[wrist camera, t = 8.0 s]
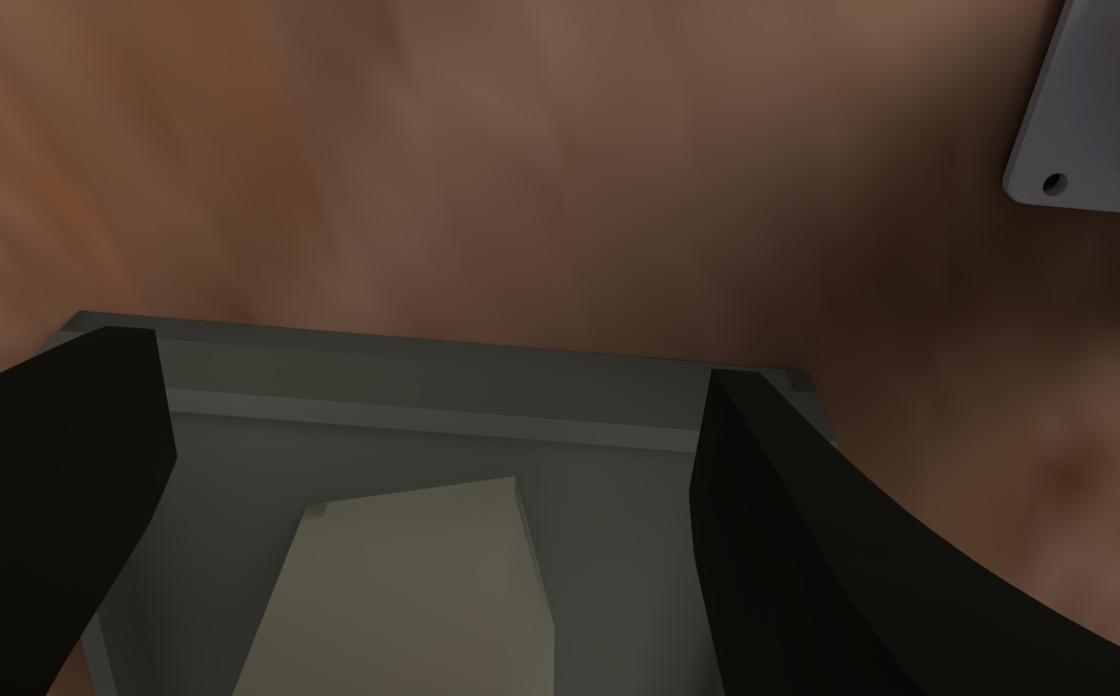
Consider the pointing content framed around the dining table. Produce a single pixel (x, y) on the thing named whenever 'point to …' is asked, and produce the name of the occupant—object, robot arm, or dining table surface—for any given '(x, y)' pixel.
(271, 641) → the open box
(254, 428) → the tray
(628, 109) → the dining table surface
